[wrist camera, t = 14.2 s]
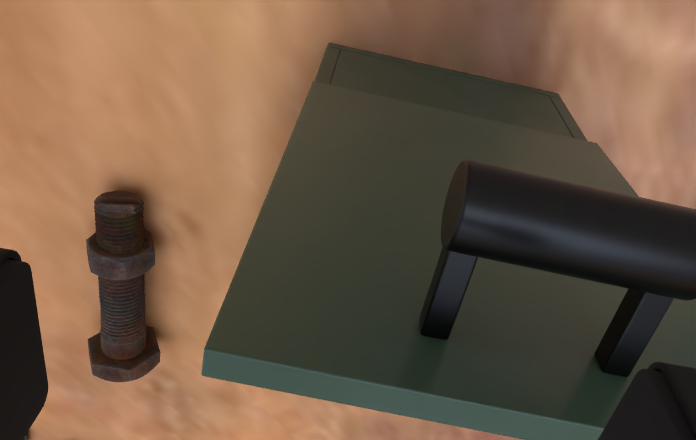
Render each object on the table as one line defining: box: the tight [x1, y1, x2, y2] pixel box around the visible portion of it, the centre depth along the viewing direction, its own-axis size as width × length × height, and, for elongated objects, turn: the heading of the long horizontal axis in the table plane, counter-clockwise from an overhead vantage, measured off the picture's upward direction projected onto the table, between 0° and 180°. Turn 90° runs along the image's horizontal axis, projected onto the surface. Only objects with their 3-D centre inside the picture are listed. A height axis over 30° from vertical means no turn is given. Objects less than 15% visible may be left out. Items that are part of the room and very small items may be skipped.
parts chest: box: [315, 43, 587, 141], centre depth 39 cm, size 19×15×8 cm
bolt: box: [86, 191, 160, 382], centre depth 46 cm, size 6×5×15 cm
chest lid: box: [202, 81, 696, 440], centre depth 21 cm, size 20×15×5 cm
